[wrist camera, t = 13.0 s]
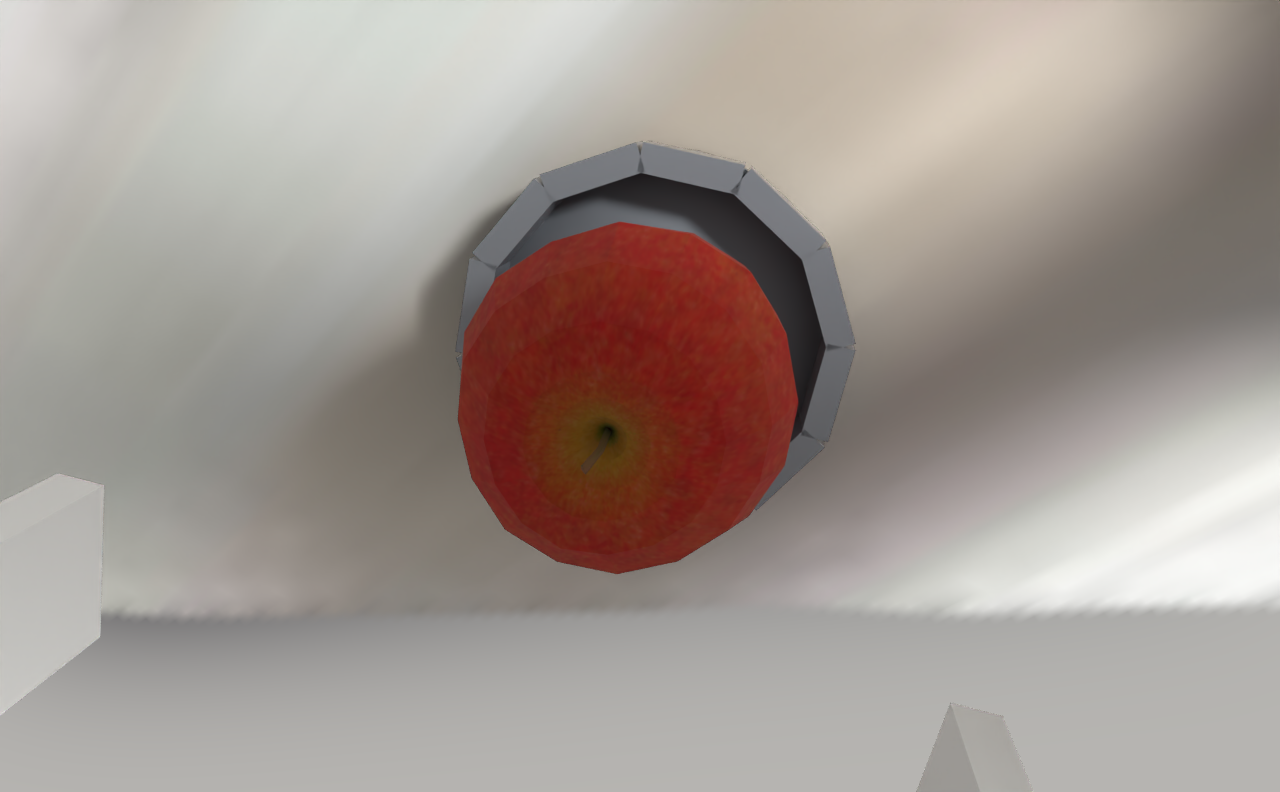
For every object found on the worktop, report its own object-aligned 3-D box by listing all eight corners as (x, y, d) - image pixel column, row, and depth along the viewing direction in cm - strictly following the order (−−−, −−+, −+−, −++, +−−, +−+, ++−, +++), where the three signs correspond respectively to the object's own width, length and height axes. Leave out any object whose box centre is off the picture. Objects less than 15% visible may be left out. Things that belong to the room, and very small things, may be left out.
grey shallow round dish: (432, 211, 35) (403, 220, 32) (785, 93, 32) (788, 91, 29) (551, 532, 38) (534, 565, 36) (880, 450, 36) (891, 479, 33)
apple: (690, 511, 36) (651, 734, 23) (477, 375, 36) (311, 523, 22) (845, 298, 33) (904, 415, 20) (614, 145, 32) (514, 159, 19)
